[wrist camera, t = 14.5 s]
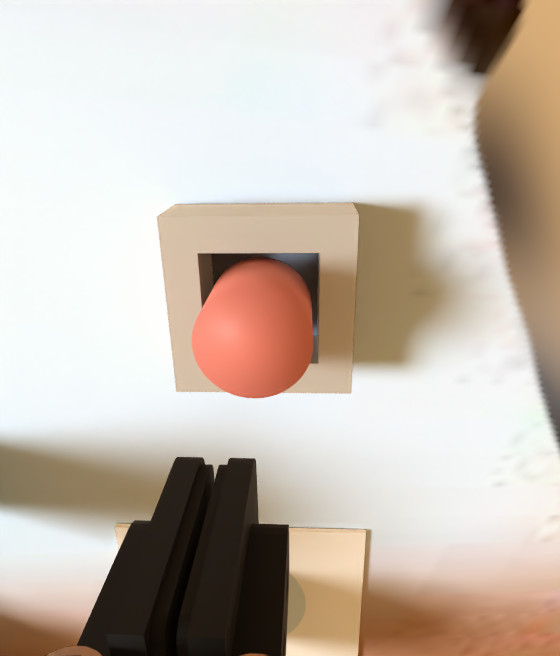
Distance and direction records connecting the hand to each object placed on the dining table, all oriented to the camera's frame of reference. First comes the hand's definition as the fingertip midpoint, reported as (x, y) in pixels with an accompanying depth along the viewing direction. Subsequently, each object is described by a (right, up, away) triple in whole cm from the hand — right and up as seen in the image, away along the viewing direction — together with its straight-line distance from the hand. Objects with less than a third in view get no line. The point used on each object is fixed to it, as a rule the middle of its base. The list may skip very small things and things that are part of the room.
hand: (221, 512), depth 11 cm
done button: (0, +5, +11) cm, 12 cm away
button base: (+1, +6, +13) cm, 15 cm away
